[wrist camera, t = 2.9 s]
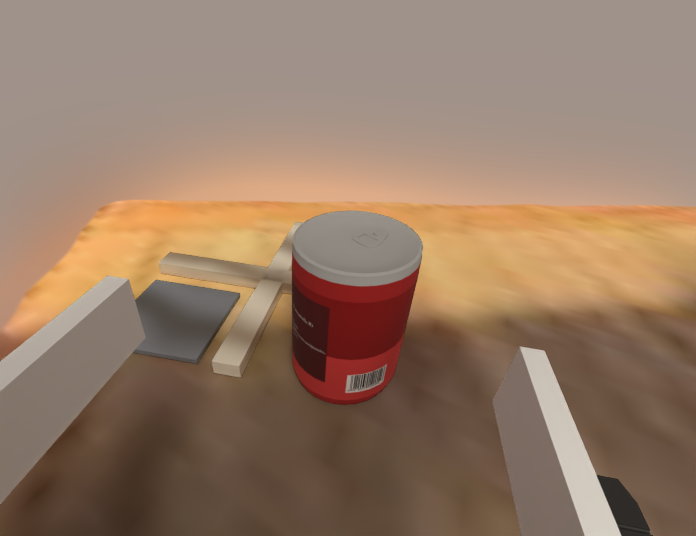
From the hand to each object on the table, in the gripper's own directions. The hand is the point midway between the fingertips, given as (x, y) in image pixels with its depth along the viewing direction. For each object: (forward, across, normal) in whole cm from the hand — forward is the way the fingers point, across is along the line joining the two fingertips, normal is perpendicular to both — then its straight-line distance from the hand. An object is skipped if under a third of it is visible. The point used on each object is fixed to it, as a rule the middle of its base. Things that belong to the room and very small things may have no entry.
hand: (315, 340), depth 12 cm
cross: (+18, -8, -12) cm, 23 cm away
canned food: (+10, +1, -12) cm, 16 cm away
